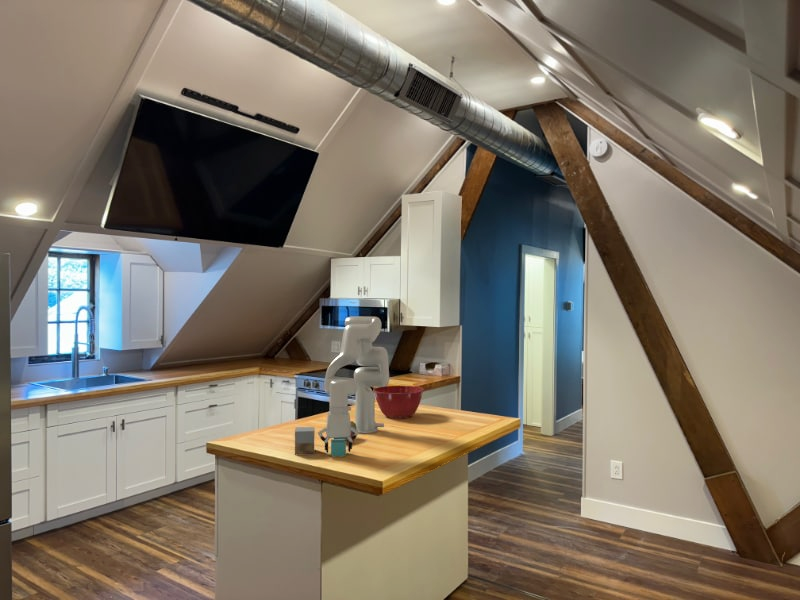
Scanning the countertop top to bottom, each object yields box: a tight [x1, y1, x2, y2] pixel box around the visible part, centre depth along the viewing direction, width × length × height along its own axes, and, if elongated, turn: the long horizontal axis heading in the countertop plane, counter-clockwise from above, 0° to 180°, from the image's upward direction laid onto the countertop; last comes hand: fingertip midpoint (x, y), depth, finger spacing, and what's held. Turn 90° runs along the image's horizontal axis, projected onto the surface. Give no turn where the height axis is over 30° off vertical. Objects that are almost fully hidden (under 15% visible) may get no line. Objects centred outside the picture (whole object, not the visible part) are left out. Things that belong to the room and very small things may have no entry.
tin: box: [333, 420, 357, 442], centre depth 261 cm, size 15×3×8 cm, turn 148°
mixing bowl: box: [373, 385, 424, 419], centre depth 317 cm, size 28×28×16 cm
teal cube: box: [330, 438, 347, 457], centre depth 236 cm, size 6×6×6 cm
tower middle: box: [294, 426, 316, 445], centre depth 240 cm, size 8×8×5 cm
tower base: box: [294, 442, 315, 456], centre depth 240 cm, size 8×8×5 cm
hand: (338, 451), depth 236 cm, fingers open, 8 cm apart
